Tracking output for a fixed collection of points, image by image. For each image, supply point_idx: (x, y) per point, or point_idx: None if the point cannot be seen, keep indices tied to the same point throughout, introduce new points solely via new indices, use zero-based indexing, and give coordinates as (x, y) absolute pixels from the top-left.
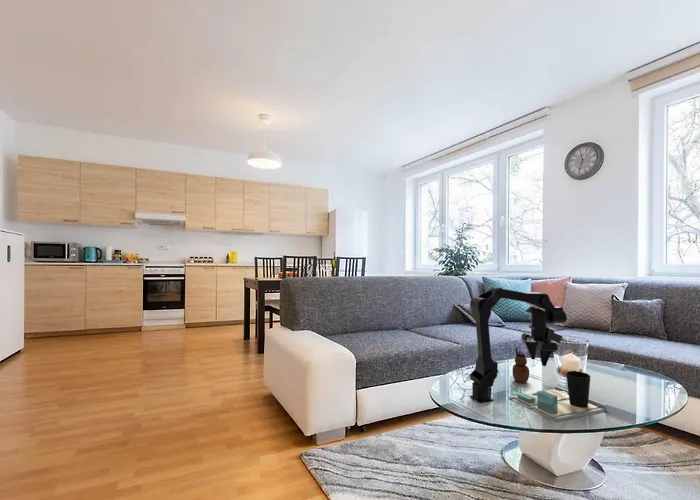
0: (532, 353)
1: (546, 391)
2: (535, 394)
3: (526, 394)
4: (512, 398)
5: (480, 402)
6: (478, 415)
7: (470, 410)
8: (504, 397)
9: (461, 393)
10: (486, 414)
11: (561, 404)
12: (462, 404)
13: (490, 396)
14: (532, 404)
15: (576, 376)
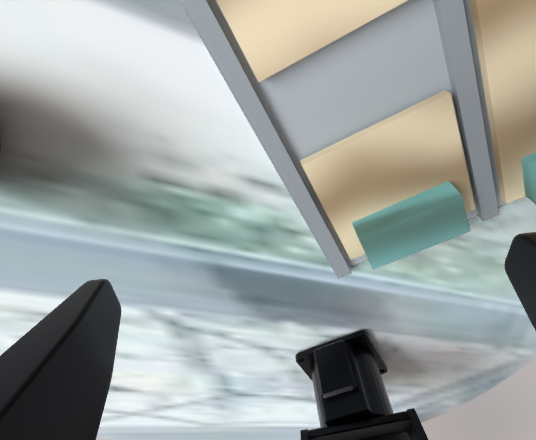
0: (79, 410)
1: (227, 12)
2: (270, 117)
3: (392, 227)
4: (347, 263)
5: (385, 368)
6: (489, 377)
7: (444, 390)
8: (316, 285)
9: (281, 402)
10: (488, 360)
11: (521, 3)
12: (390, 403)
13: (351, 348)
14: (472, 205)
15: None
